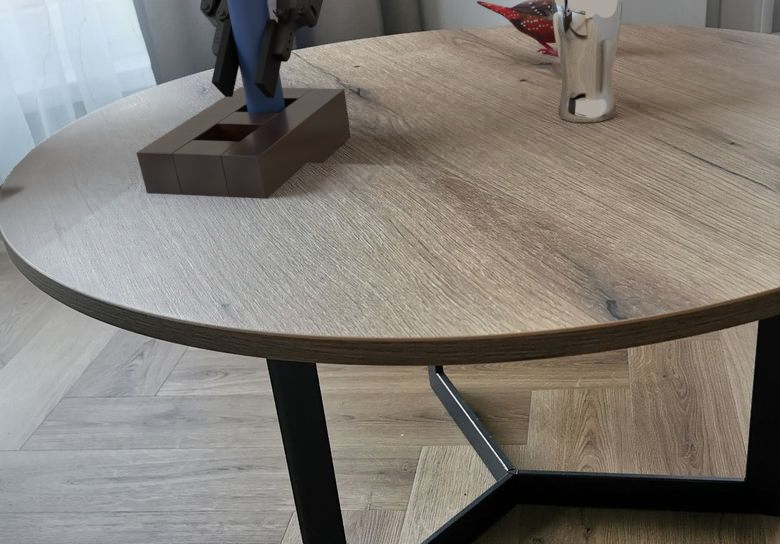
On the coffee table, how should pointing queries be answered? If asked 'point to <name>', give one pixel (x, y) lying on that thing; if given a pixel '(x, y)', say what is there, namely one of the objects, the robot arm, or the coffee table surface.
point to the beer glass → (587, 57)
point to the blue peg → (253, 52)
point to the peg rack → (246, 145)
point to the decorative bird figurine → (530, 20)
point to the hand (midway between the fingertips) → (243, 89)
